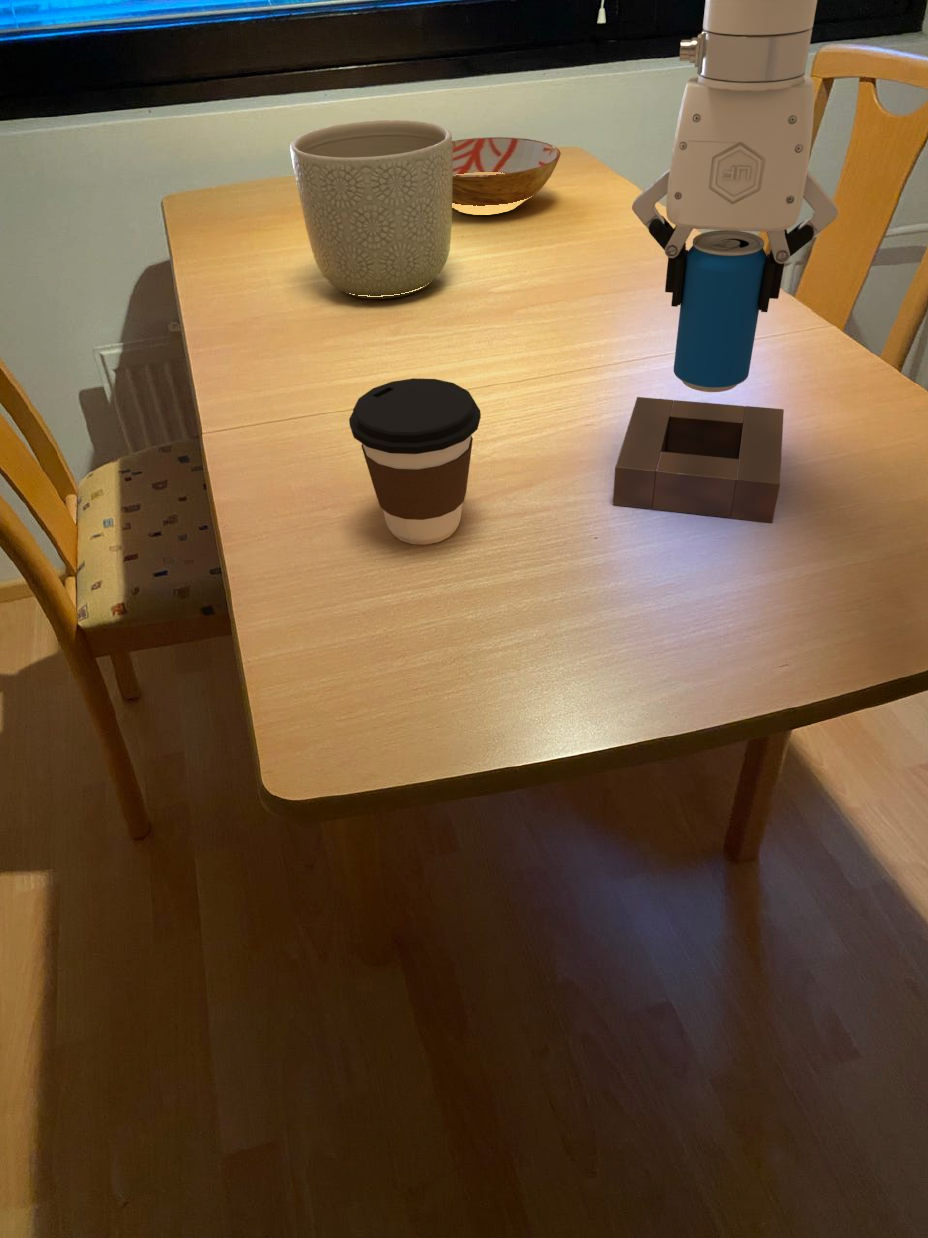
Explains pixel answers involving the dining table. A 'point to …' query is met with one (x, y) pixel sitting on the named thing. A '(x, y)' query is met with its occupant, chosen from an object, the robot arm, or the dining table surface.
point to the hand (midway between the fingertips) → (720, 301)
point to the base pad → (701, 459)
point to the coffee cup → (418, 454)
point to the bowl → (500, 169)
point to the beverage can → (719, 309)
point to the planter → (377, 203)
